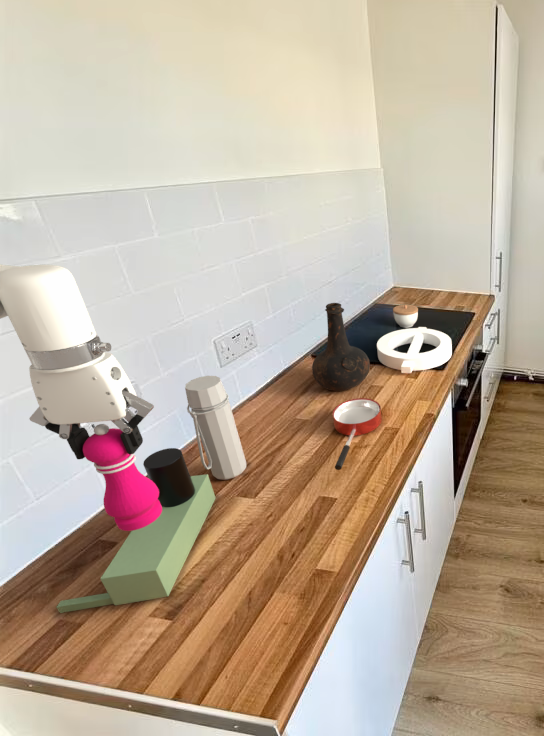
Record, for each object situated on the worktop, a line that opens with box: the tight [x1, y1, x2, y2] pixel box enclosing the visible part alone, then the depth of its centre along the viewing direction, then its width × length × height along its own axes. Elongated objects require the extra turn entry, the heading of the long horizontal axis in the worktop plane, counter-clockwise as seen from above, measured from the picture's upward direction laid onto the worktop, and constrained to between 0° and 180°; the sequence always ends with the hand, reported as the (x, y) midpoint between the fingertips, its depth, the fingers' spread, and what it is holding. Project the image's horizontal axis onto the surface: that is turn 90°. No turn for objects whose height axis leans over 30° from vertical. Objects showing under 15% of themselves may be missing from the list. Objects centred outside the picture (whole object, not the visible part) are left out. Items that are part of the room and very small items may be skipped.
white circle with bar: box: [376, 326, 453, 374], centre depth 166 cm, size 28×28×5 cm
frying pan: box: [332, 397, 383, 471], centre depth 116 cm, size 32×13×6 cm, turn 14°
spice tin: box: [142, 447, 195, 507], centre depth 86 cm, size 6×6×10 cm
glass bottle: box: [311, 302, 371, 392], centre depth 138 cm, size 18×18×28 cm
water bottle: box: [184, 375, 247, 481], centre depth 99 cm, size 9×8×25 cm
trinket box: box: [392, 304, 419, 329], centre depth 190 cm, size 11×11×9 cm
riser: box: [55, 473, 216, 614], centre depth 83 cm, size 16×24×7 cm, turn 14°
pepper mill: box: [83, 423, 162, 532], centre depth 72 cm, size 7×7×20 cm
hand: (110, 450), depth 70 cm, fingers closed on pepper mill, 6 cm apart
